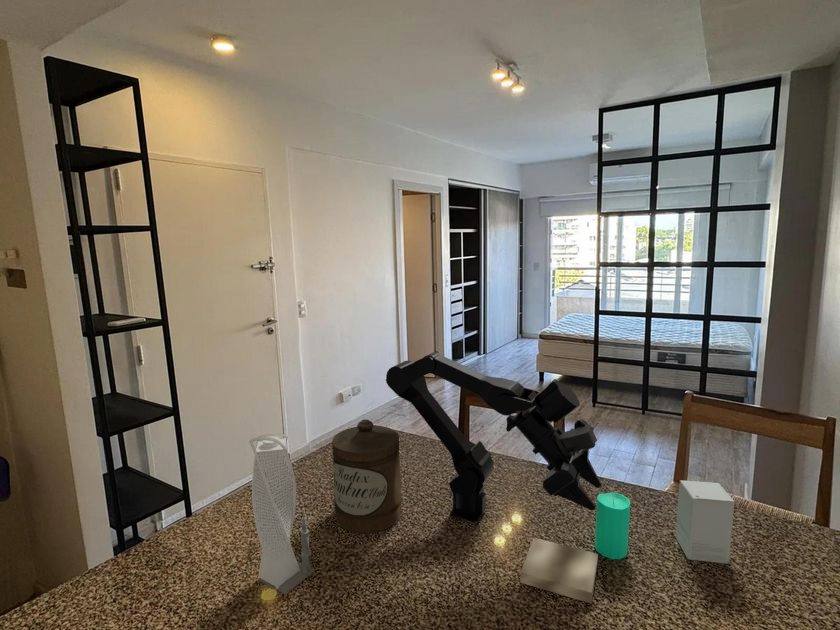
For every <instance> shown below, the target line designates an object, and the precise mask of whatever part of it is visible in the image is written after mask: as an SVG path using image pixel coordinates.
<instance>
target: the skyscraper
mask: <svg viewBox="0 0 840 630" xmlns="http://www.w3.org/2000/svg"><path fill="white" fill-rule="evenodd" d="M254 442H256V445H254ZM287 442H288V435H287V434H285V433H268V434H267V433H266V434H261V435H259V436H257V437H254V438H251V439H249V441H248V443H249V445H250V447H251V449H252V451H253V454H254V459H253V467H252V480H251V481H252V482H251V499H252V501H251V502H252V511H253V516H254V517H253V518H254V521H255V522H254V524H255V528H256V533H257V536H258V539H259V542H260V547H261V550H262V551H261V557H260V563H259V569H258V577H257V581H260V582H261V583H263V584H265V585H266V586H268V587H270V588H272V589H274V590H276V591H278V593H279V592H280V593H281V594H283V595H287V594H288V593H290V591H292V590H293V589H294V588H296V587H297V586H298V585H299V584H300V583H302V582H303V581H304V580H305V579H306V578H308V577H309V576H310V575H311V574H312V573H314V572H315V569H314V568H313V567H312V566H311V564H312V560H311V559H312V553H311V551H310V531H309V529H308V528H307V516H306V512H305V511H306V509H305V508H302V517H301V521H302V522H301V525H302V530H301V531H300V539H301V553H300V556H301V562H300V561H299V560H297V558H296V555H295V553H294V550H293V547H292V545H291V538H290V537H291V534H292V531H293V525H294V523H295V521H294V520H295V516H296V509H297V483H296V478H295V472H294V468H293V464H292V462H291V458H290V455H289V451H288V449H287V446H286V445H287Z"/></svg>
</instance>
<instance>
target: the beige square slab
mask: <svg viewBox="0 0 840 630" xmlns="http://www.w3.org/2000/svg"><path fill="white" fill-rule="evenodd" d="M598 557H599V553H598V552H597V553H596V552H592V551H588V550H585V549H581V548H576V547H573V546H568V545H565V544H561V543H556V542H553V541H548V540H545V539H542V538H537V537H533V538H532V541H531V544H530V545H529V549H528V551H527V554H526V557H525V559H524V561H523V564H522V568H521V571H520V574H519V575H520V581H519V583H520V584H523V585H528V586H531V587H534V588H537V589H541V590H545V591H548V592H551V593H555V594H558V595H561V596H565V597H568V598H571V599H575V600H579V601H581V602H586V603H589V604H592V602H593V596H594V595H593V594H594V589H595V582H596V576H597V570H598V560H599V558H598Z"/></svg>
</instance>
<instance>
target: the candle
mask: <svg viewBox="0 0 840 630" xmlns="http://www.w3.org/2000/svg"><path fill="white" fill-rule="evenodd" d="M595 510H596V513H595V531H594V533H595V535H594V549H595V551H596V552H597V553H598V554H599V555H601V556H603V557H606V558H607V559H608V558H609V559H611V560H622V559H623V558H626V557H627V555H628V548H629V532H630V531H629V530H630V517H631V516H630V515H631V501H630V499H629V498H628V497H626V496H625V495H623V494H621V493H617V492H607V493H599V494H598V496H597V498H596V508H595Z"/></svg>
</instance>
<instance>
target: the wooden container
mask: <svg viewBox="0 0 840 630" xmlns="http://www.w3.org/2000/svg"><path fill="white" fill-rule="evenodd" d="M331 440H332V442H331V448H332V456H333V459H332V460H333V462H332V463H333V496H334V497H333V499H334V515H335V521H336V523H337V524H338V526H340V527H341V528H342V529H345V530H346V531H349V532H352V533H358V534H360V533H361V534H371V533H377V532H382V531H384V530H387V529H389V528H390V527H392V526H394V525H395V524H396V523H397V522H398V521H399V520H400V519H401V516H402V508H403V506H402V479H401V478H402V476H401V475H402V473H401V460H400V438H399V434H398V432H397V431H396V430H394V429H393V428H391V427H388V426H383V425H375V424H374V423H373V421H372V420H369V419H362V420H361V421H359V422H358V423H357V425H356V426H353V427H350V428H349V427H348V428H347V429H344V430H342V431H341V430H340V431H339V432H338V433H336V434H335V435H334V436H333V438H332V439H331Z"/></svg>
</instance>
